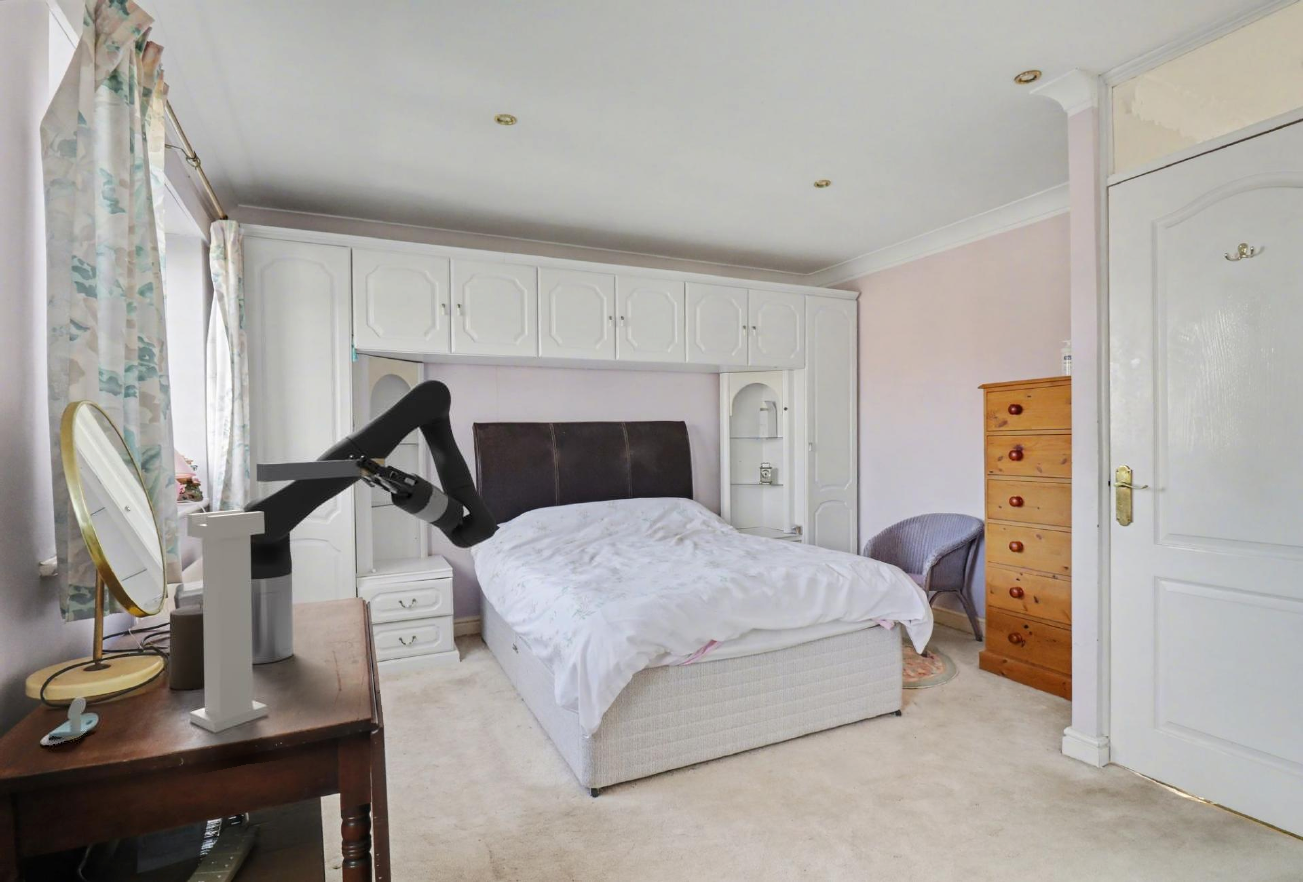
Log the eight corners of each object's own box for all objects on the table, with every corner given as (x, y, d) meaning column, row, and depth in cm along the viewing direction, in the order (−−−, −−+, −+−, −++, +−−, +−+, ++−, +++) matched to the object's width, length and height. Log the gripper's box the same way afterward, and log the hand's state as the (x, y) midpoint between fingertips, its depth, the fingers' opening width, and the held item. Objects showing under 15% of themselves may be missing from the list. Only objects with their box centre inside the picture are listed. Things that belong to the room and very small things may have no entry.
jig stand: (190, 721, 110) (187, 514, 109) (242, 704, 116) (239, 509, 116) (214, 732, 105) (211, 517, 105) (267, 714, 112) (264, 511, 112)
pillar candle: (196, 692, 122) (196, 609, 122) (156, 687, 125) (156, 605, 125) (243, 675, 131) (243, 597, 132) (204, 670, 134) (204, 594, 134)
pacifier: (29, 752, 100) (77, 745, 102) (27, 710, 100) (75, 704, 101) (59, 731, 107) (103, 725, 109) (57, 692, 107) (101, 687, 108)
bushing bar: (256, 481, 116) (256, 463, 116) (375, 473, 136) (375, 458, 135) (265, 481, 115) (265, 464, 115) (385, 474, 134) (384, 458, 134)
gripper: (406, 481, 148) (341, 443, 135) (449, 483, 140) (385, 442, 128) (391, 512, 145) (324, 476, 132) (435, 516, 137) (368, 478, 125)
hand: (355, 460), depth 130 cm, fingers closed on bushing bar, 3 cm apart
